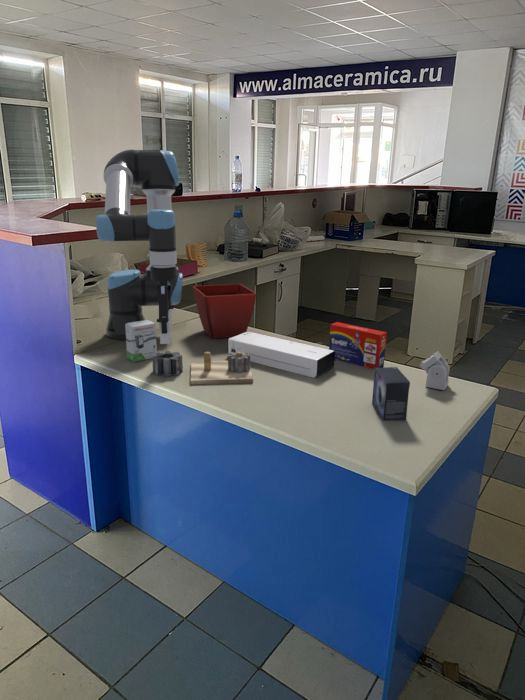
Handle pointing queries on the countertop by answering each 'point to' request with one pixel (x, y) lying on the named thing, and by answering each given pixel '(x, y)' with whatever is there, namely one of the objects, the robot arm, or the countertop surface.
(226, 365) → the gear puzzle board
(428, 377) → the mechanical component
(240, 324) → the plant pot
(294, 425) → the countertop surface
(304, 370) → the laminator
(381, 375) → the small box
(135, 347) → the ink box
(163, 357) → the planet gear
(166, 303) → the robot arm
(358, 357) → the toy box
